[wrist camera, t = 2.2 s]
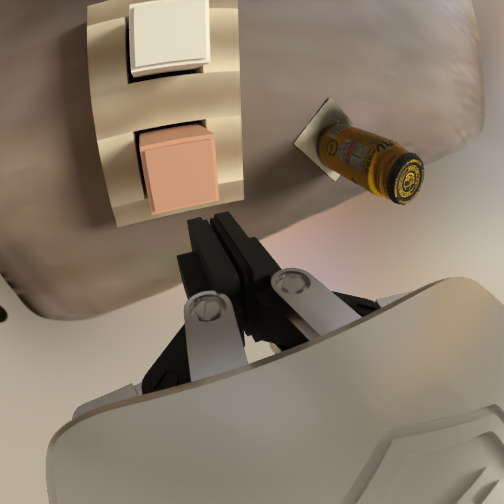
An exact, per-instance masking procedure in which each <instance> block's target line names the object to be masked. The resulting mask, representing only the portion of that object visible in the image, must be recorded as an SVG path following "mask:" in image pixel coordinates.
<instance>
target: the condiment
mask: <svg viewBox="0 0 504 504" xmlns="http://www.w3.org/2000/svg"><path fill="white" fill-rule="evenodd" d="M338 121H339V122H338ZM314 138H316V140H314ZM315 141H316V144H315ZM294 144H295V145H296V146H297V147H298V148H299V149H300V150H301V151H303V152H304V153H305V154H306V155H307V156H308V157H309V158H310V159H311V160H313V161H314V162H315V163H316V164H317V165H318V166H319V167H320V168H321V169H322V170H323V171H324V172H325V173H326V174H327V175H329V176H330V177H331V178H332V179H333V180H334V181H335V182H336V180H337V179H338V178H339V176H340V175H342V176H344V177H345V178H347V179H349V180H350V181H353V182H354V183H356V184H358V185H360V186H361V187H363V188H365V189H366V190H368V191H370V192H371V193H373V194H374V195H377V196H381V197H383V196H384V197H385V198H387V199H390V200H392V201H393V202H394V203H397V204H402V205H405V204H406V203H408V202H410V201H411V200H412V199H413V198H414V197H415V196H416V195H417V194H418V192H419V190H420V188H421V185H422V183H423V177H424V167H423V162H422V161H421V159H420V158H419V157H418V156H417V155H416V154H413V153H410V152H409V151H407V150H406V149H404V148H402V146H401V145H400V144H398V143H397V142H394V141H392V140H390V139H387V138H384V137H381V136H378V135H376V134H373V133H370V132H367V131H364V130H361V129H358V128H356V127H355V126H354V125H353V123H352V122H351V121H350V119H349V118H348V117H347V116H346V115H345V113H344V112H343V111H342V110H341V109H340V108H339V107H338V105H337V104H336V103H335V102H334V101H333V99H332V98H330V99H329V100H328V101H327V102H326V103H325V104H324V105H323V107H322V108H321V109H320V110H319V112H318V113H317V114H316V115H315V116H314V118H313V119H312V120H311V121H310V122H309V123H308V125H307V127H306V128H305V129H304V131H303V132H302V133H301V134H300V136H299V137H298V139H297V140H296V141H295V143H294Z"/></svg>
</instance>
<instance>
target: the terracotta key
mask: <svg viewBox="0 0 504 504" xmlns="http://www.w3.org/2000/svg"><path fill="white" fill-rule="evenodd" d="M139 147H140V153H141V160H142V166H143V172H144V177H145V183H146V188H147V193H148V198H149V203H150V208H151V213H152V215H154V214H159V213H163V212H167V211H172V210H176V209H181V208H185V207H190V206H195V205H199V204H204V203H209V202H214V201H219V191H218V178H217V165H216V150H215V135H214V133H212V132H211V131H209V130H207V129H206V128H204V127H202V126H200V125H199V124H190V125H184V126H178V127H172V128H166V129H161V130H156V131H150V132H146V133H141V134H140V146H139Z"/></svg>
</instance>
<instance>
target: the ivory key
mask: <svg viewBox="0 0 504 504" xmlns="http://www.w3.org/2000/svg"><path fill="white" fill-rule="evenodd" d="M129 39H130V62H131V73H132V75H133V77H134V78H137V77H142V76H148V75H153V74H160V73H166V72H174V71H182V70H191V69H195V68H198V67H200V66H203V65H205V64H208V63H210V62H211V58H210V27H209V0H156V1H149V2H142V3H136V4H130V5H129Z"/></svg>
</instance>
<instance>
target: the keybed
mask: <svg viewBox="0 0 504 504" xmlns="http://www.w3.org/2000/svg"><path fill="white" fill-rule="evenodd" d="M149 1H156V0H109V1H105V2H101V3H97V4H93V5H90V6H88V8H87V53H88V71H89V83H90V93H91V102H92V110H93V118H94V124H95V131H96V137H97V143H98V148H99V153H100V159H101V163H102V168H103V173H104V177H105V182H106V186H107V190H108V194H109V198H110V202H111V206H112V210H113V214H114V217H115V221H116V224H117V228H118V227H122V226H126V225H130V224H134V223H138V222H142V221H146V220H150V219H154V218H159V217H163V216H167V215H172V214H176V213H180V212H185V211H190V210H194V209H199V208H204V207H208V206H213V205H218V204H223V203H228V202H233V201H239V200H244V186H243V158H242V130H241V99H240V66H239V30H238V0H209V27H210V58H211V62H210V63H208V64H205V65H203V66H200V67H198V68H195V69H194V74H188V75H179V76H171V77H164V78H158V79H152V80H146V81H141V82H136V83H131V84H129V70H128V53H127V28H129V5H130V4H136V3H142V2H149ZM195 120H197V124H199V125H200V126H202V127H204V128H206V129H207V130H209V131H211V132H212V133H214V135H215V150H216V165H217V178H218V191H219V201H214V202H209V203H204V204H199V205H195V206H190V207H185V208H181V209H176V210H172V211H167V212H163V213H159V214H154V215H152V213H151V208H150V203H149V198H148V193H147V188H146V184H144V185H143V179H142V174H141V168H140V162H139V156H138V150H137V143H136V136H135V131H139V130H143V129H148V128H153V127H158V126H164V125H169V124H175V123H182V122H188V121H195Z"/></svg>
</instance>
